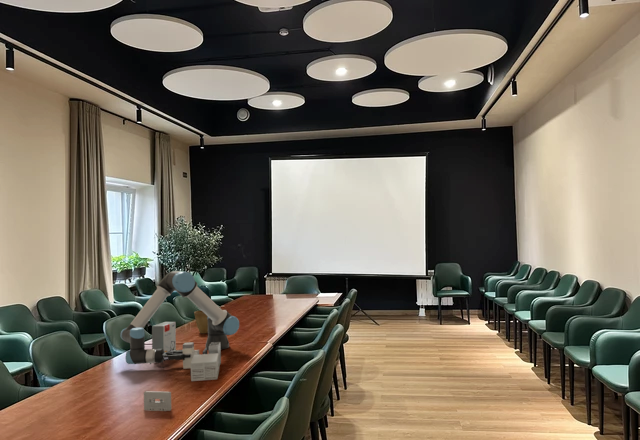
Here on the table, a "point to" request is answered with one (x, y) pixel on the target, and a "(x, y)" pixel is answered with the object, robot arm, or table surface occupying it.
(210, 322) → the robot arm
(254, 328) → the table surface
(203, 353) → the plate
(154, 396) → the cassette
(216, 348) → the grey boxy device
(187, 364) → the white and grey box
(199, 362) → the supplement box
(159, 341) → the hard drive box
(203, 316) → the plant pot
